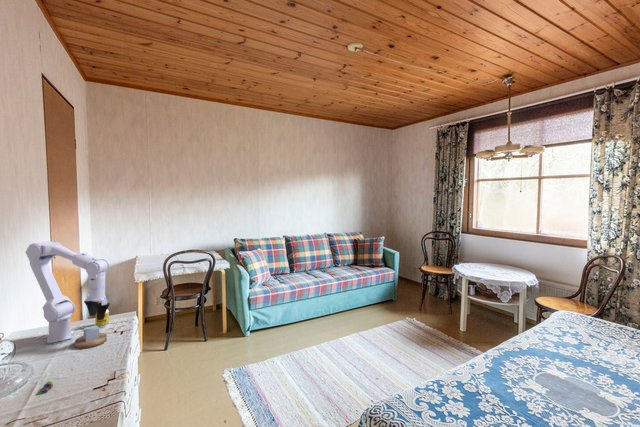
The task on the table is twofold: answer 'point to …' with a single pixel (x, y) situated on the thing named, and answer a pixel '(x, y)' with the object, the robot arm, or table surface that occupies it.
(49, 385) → the green pink pointed oval
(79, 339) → the walnut bowl
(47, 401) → the table surface
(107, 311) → the supplement bottle
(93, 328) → the blue cube
